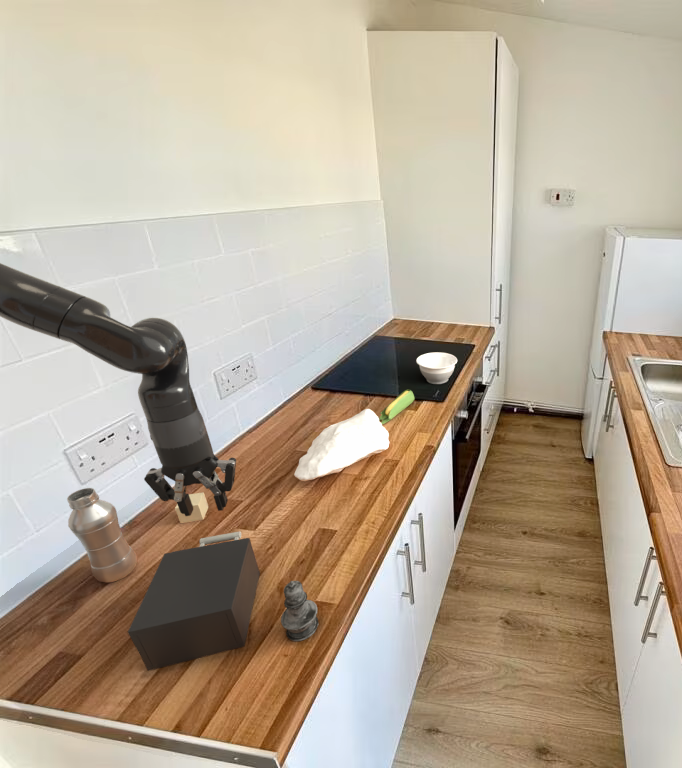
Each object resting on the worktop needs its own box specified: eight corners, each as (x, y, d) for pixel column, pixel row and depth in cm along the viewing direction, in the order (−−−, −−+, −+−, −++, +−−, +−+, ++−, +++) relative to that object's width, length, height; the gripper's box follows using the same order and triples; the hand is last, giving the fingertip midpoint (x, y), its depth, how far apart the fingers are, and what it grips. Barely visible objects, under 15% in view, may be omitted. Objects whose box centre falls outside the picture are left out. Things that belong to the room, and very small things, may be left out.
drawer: (192, 559, 89) (181, 531, 85) (261, 546, 92) (253, 518, 89) (156, 652, 72) (140, 621, 68) (242, 631, 76) (231, 600, 72)
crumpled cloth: (411, 427, 137) (405, 401, 134) (357, 498, 106) (347, 467, 103) (345, 427, 142) (338, 402, 139) (274, 495, 111) (262, 465, 107)
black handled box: (179, 590, 83) (164, 553, 79) (260, 573, 88) (249, 537, 83) (148, 671, 70) (127, 632, 66) (244, 646, 74) (231, 608, 70)
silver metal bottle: (89, 581, 84) (45, 501, 75) (126, 555, 90) (90, 479, 81) (111, 591, 82) (70, 511, 73) (148, 564, 88) (114, 487, 79)
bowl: (449, 390, 165) (448, 370, 161) (410, 384, 168) (409, 364, 164) (462, 374, 179) (462, 355, 175) (427, 368, 182) (426, 350, 178)
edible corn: (418, 400, 157) (417, 389, 155) (388, 427, 139) (387, 415, 137) (405, 397, 158) (404, 386, 156) (374, 424, 141) (373, 412, 139)
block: (180, 523, 98) (174, 508, 96) (186, 510, 102) (181, 495, 100) (203, 519, 100) (198, 504, 98) (208, 506, 104) (203, 492, 102)
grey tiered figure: (283, 620, 79) (271, 573, 74) (318, 607, 81) (308, 562, 76) (285, 648, 74) (271, 601, 69) (321, 634, 77) (311, 588, 72)
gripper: (232, 418, 80) (252, 491, 87) (138, 428, 75) (167, 504, 83) (222, 440, 73) (244, 516, 81) (119, 453, 69) (153, 532, 76)
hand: (205, 510), depth 82 cm, fingers open, 4 cm apart
